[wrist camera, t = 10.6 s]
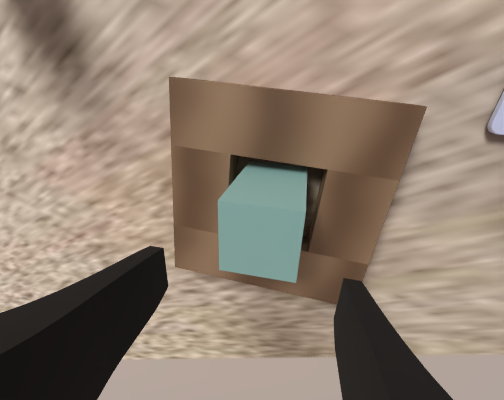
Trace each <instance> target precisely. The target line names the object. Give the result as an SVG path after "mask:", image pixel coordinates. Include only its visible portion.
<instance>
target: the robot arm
mask: <svg viewBox="0 0 504 400" xmlns="http://www.w3.org/2000/svg"><path fill="white" fill-rule="evenodd" d="M487 128H488V131H489V132H490V133H493V134H497V135H504V91H503V93H502V96H501V98H500V100H499V102H498V104H497V106H496V108H495V110H494V112H493V114H492V116H491V118H490V121H489V123H488V126H487ZM167 288H168V280H167V272H166V264H165V256H164V248H160V247H154V246H149V247H147V248H144V249H142V250H140V251H138V252H136V253H134V254H132V255H130V256H128V257H127V258H125V259H123V260H121V261H119V262H117V263H115V264H113V265H111V266H109V267H107V268H105V269H103V270H101V271H99V272H97V273H95V274H93V275H91V276H89V277H87V278H85V279H83V280H81V281H79V282H76V283H74V284H72V285H70V286H68V287H66V288H64V289H61V290H59V291H57V292H54V293H52V294H50V295H47V296H45V297H42V298H40V299H37V300H35V301H32V302H30V303H27V304H25V305H22V306H19V307H16V308H14V309H11V310H8V311H5V312H2V313H0V400H97V399H98V397H99V395H100V394H101V392H102V390H103V388H104V387H105V385H106V383H107V382H108V380H109V378H110V376H111V375H112V373H113V371H114V370H115V368H116V367H117V365H118V364H119V362H120V361H121V359H122V358H123V356H124V355H125V354H126V352H127V351H128V349H129V348H130V346H131V345H132V343H133V342H134V341H135V339H136V338H137V336H138V335H139V334H140V332H141V331H142V329H143V328H144V326H145V325H146V323H147V322H148V321H149V319H150V318H151V316H152V315H153V313H154V312H155V310H156V309H157V307H158V305H159V303H160V301H161V300H162V298H163V296H164V294H165V292H166V290H167ZM334 338H335V351H336V358H337V365H338V372H339V378H340V385H341V392H342V398H343V400H453V399H452V398H451V397H450V396H449V395H448V393H447V392H446V391H445V390H444V389H443V388H442V387H441V386H440V385H439V383H438V382H437V381H436V380H435V379H434V378H433V377H432V376H431V374H430V373H429V372H428V371H427V370H426V369H425V368H424V366H423V365H422V364H421V362H420V361H419V360H418V359H417V357H416V356H415V355H414V354H413V352H412V351H411V350H410V349H409V347H408V346H407V345H406V344H405V342H404V341H403V340H402V338H401V337H400V336H399V334H398V333H397V332H396V330H395V329H394V328H393V326H392V325H391V323H390V322H389V321H388V319H387V318H386V317H385V315H384V314H383V312H382V311H381V309H380V308H379V306H378V305H377V304H376V302H375V301H374V299H373V298H372V296H371V295H370V293H369V292H368V290H367V289H366V287H365V286H364V284H363V283H362V282H361V281H359V280H353V279H347V278H343V282H342V286H341V290H340V295H339V299H338V303H337V307H336V311H335V315H334Z"/></svg>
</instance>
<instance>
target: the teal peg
mask: <svg viewBox="0 0 504 400" xmlns="http://www.w3.org/2000/svg"><path fill="white" fill-rule="evenodd" d="M306 194H307V166H298V165H287V164H276V163H265V162H254V161H250V162H249V163H248V164H247V165H246V166H245V168H244V169H243V170H242V171H241V173H240V174H239V175H238V176H237V177H236V179H235V180H234V181H233V182H232V184H231V185H230V186H229V187H228V189H227V190H226V191H225V192H224V193H223V195H222V196H221V197H220V198H219V200H218V238H219V270H223V271H229V272H234V273H240V274H246V275H252V276H258V277H264V278H270V279H276V280H281V281H287V282H293V283H296V280H297V273H298V265H299V258H300V251H301V244H302V236H303V229H304V222H305V215H306Z"/></svg>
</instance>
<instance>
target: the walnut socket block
mask: <svg viewBox="0 0 504 400" xmlns="http://www.w3.org/2000/svg"><path fill="white" fill-rule="evenodd" d="M169 92H170V123H171V154H172V185H173V215H174V246H175V267H178V268H182V269H186V270H191V271H195V272H199V273H204V274H208V275H212V276H217V277H221V278H225V279H230V280H234V281H238V282H243V283H247V284H251V285H256V286H260V287H264V288H269V289H273V290H277V291H282V292H286V293H290V294H295V295H299V296H303V297H308V298H312V299H316V300H321V301H325V302H329V303H334V304H337V303H338V299H339V295H340V290H341V286H342V282H343V278H347V279H353V280H359V281H361V282H362V280H363V278H364V275H365V272H366V270H367V267H368V264H369V261H370V259H371V256H372V253H373V251H374V248H375V245H376V243H377V240H378V237H379V235H380V232H381V229H382V227H383V224H384V221H385V218H386V216H387V213H388V210H389V208H390V205H391V202H392V200H393V197H394V194H395V192H396V189H397V186H398V183H399V181H400V178H401V175H402V173H403V170H404V167H405V165H406V162H407V159H408V157H409V154H410V151H411V148H412V146H413V143H414V140H415V138H416V135H417V132H418V130H419V127H420V124H421V122H422V119H423V116H424V114H425V111H426V108H427V107H426V106H420V105H413V104H405V103H396V102H388V101H379V100H370V99H362V98H353V97H344V96H335V95H327V94H318V93H309V92H301V91H292V90H283V89H275V88H266V87H257V86H249V85H240V84H231V83H223V82H214V81H205V80H197V79H188V78H178V77H169ZM238 156H244V157H251V158H257V159H263V160H270V161H276V162H282V163H289V164H295V165H302V166H308V167H314V168H321V169H324V172H323V176H322V180H321V185H320V189H319V193H318V198H317V202H316V206H315V211H314V215H313V219H312V223H311V228H310V232H309V236H308V237H306V236H302V244H301V251H300V258H299V265H298V273H297V280H296V283H293V282H287V281H281V280H276V279H270V278H264V277H258V276H252V275H246V274H240V273H234V272H229V271H223V270H219V238H218V200H219V198H220V197H221V196H222V195H223V193H224V192H225V191H226V190H227V189H228V187H229V186H230V185H231V184H232V182H233V181H234V180H235V179H236V173H237V161H238Z"/></svg>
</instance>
